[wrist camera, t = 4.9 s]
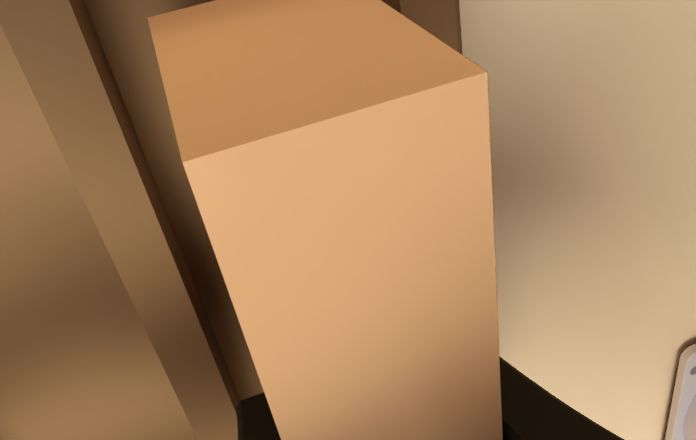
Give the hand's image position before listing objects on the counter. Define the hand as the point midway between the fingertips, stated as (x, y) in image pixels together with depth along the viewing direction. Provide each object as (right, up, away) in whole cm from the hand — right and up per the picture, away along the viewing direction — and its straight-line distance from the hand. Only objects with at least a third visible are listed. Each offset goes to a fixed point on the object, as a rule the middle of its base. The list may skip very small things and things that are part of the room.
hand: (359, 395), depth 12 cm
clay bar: (-1, +1, +2) cm, 2 cm away
